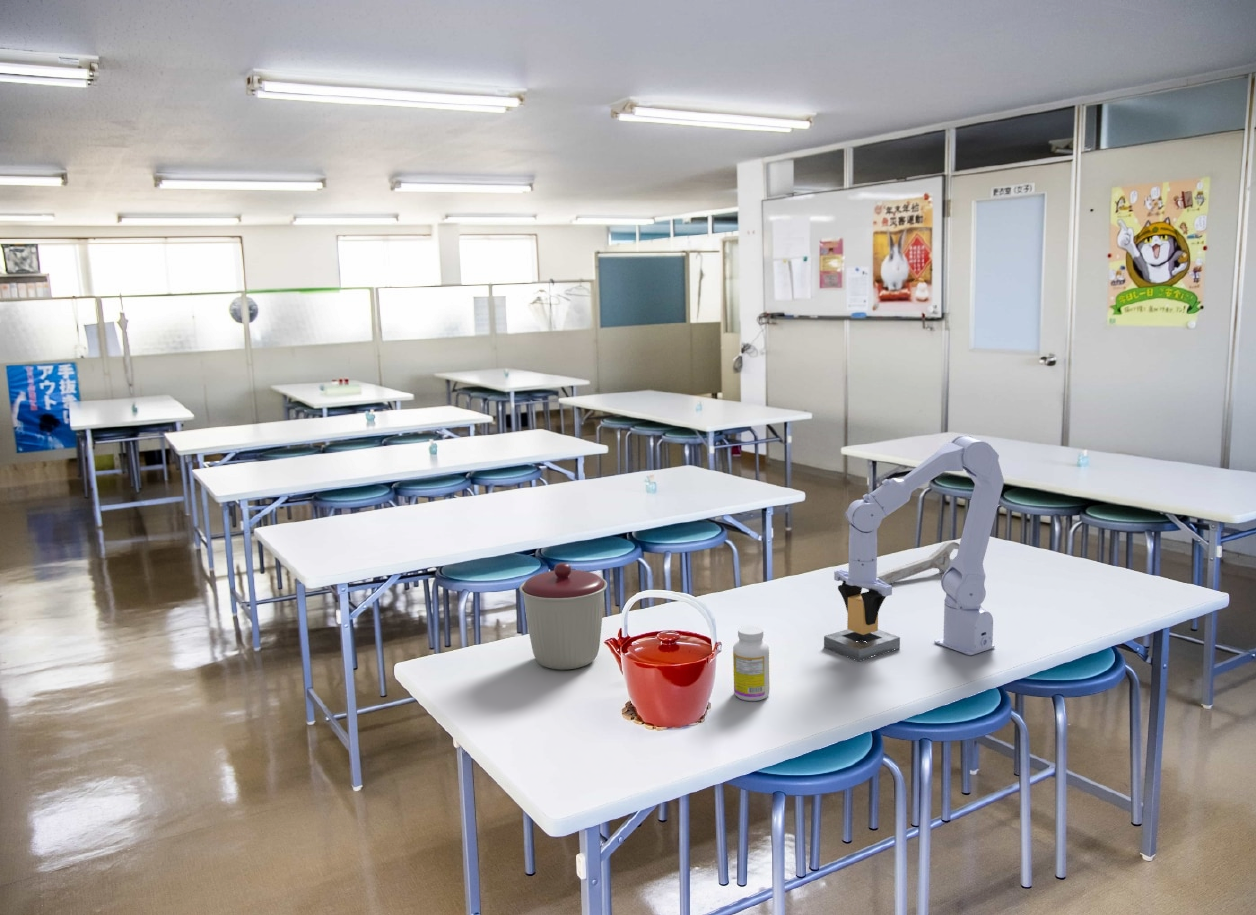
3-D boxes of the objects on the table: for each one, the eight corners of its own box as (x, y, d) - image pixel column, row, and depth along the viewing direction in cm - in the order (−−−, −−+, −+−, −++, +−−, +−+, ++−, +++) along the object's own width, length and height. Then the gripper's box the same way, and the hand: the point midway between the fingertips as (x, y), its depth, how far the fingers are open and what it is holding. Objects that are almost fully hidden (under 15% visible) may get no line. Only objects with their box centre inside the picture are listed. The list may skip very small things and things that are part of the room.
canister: (593, 640, 211) (589, 547, 207) (622, 668, 194) (619, 568, 191) (513, 653, 205) (508, 558, 201) (536, 684, 188) (531, 580, 184)
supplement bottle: (746, 685, 184) (745, 621, 182) (775, 693, 180) (775, 628, 178) (726, 696, 179) (725, 631, 177) (757, 705, 175) (756, 638, 173)
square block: (877, 630, 200) (878, 598, 199) (862, 634, 198) (863, 602, 197) (862, 624, 204) (862, 593, 203) (847, 629, 202) (847, 597, 201)
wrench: (871, 597, 244) (957, 566, 257) (876, 599, 242) (963, 568, 255) (868, 567, 242) (956, 538, 255) (873, 569, 241) (961, 539, 253)
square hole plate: (899, 648, 200) (899, 637, 200) (858, 661, 194) (858, 649, 194) (864, 635, 209) (864, 624, 208) (824, 647, 203) (824, 636, 202)
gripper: (823, 553, 202) (823, 615, 205) (875, 569, 190) (874, 634, 192) (848, 548, 206) (847, 608, 208) (899, 563, 194) (898, 627, 196)
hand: (861, 620), depth 201 cm, fingers closed on square block, 4 cm apart
